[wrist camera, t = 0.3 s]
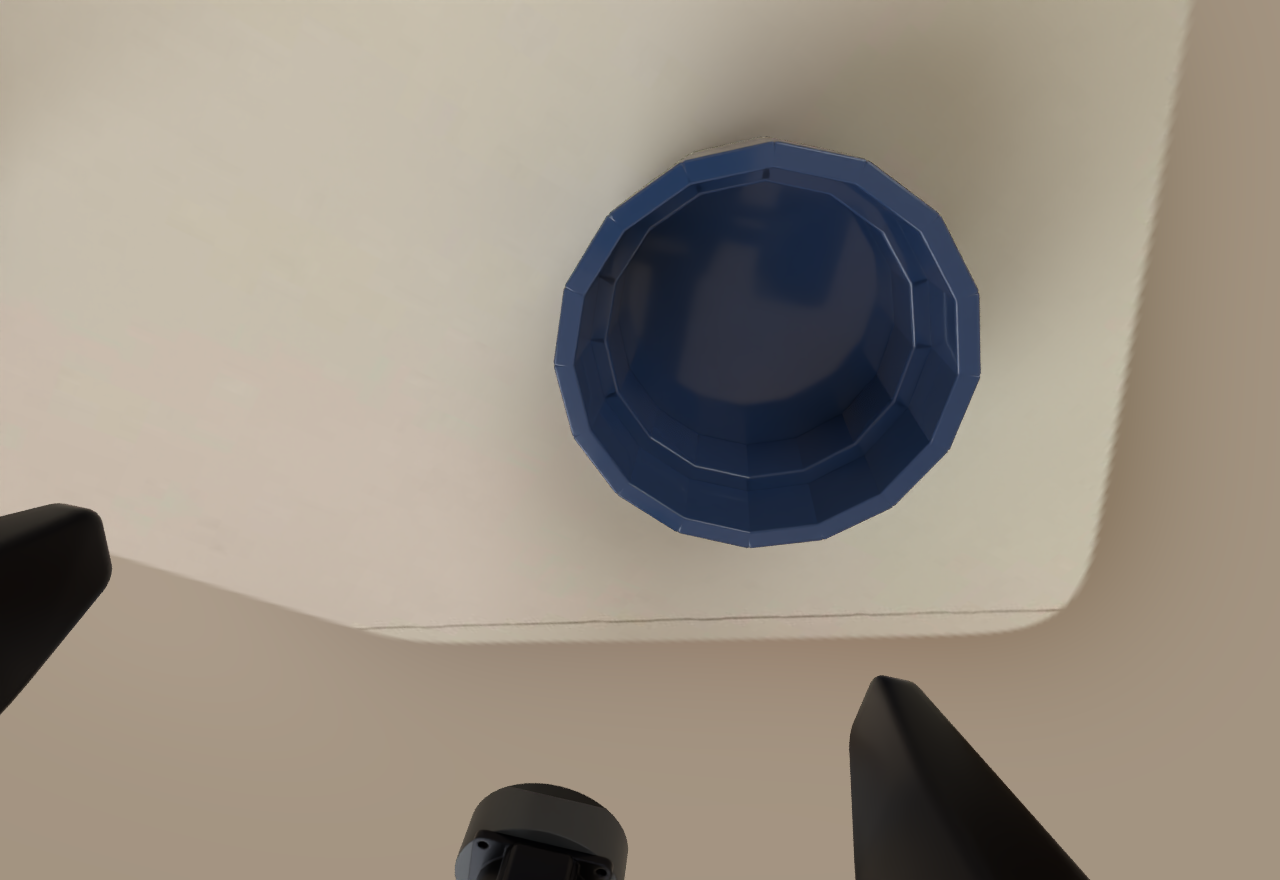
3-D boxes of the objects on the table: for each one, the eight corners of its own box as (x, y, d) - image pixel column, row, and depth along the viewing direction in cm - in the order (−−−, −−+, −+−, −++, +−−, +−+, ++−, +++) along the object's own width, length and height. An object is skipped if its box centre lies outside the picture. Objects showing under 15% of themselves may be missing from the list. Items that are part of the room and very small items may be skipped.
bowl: (860, 487, 22) (894, 581, 18) (572, 425, 22) (533, 502, 18) (974, 179, 18) (1057, 198, 14) (622, 106, 18) (589, 101, 14)
